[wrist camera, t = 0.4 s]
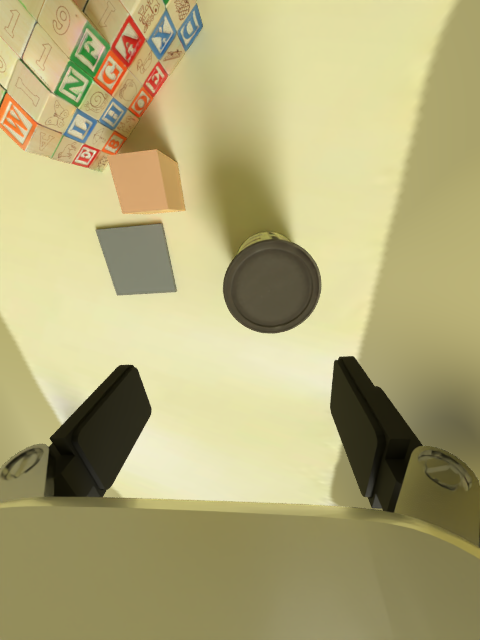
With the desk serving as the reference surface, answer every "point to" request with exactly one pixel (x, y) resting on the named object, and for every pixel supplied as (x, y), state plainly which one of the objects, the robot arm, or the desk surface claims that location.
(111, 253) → the mat
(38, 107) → the stack of blocks
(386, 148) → the desk surface
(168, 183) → the tan cardboard-coloured cube
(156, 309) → the desk surface
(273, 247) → the coffee can
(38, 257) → the desk surface
